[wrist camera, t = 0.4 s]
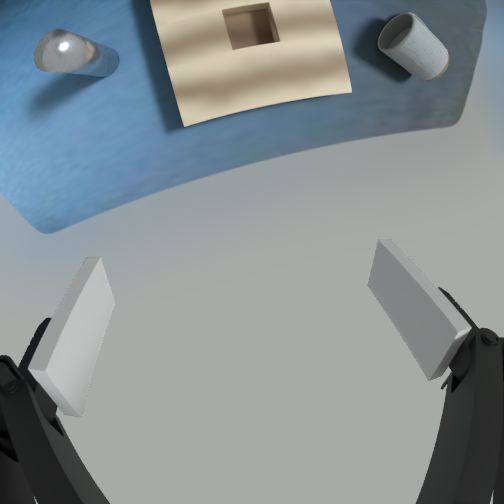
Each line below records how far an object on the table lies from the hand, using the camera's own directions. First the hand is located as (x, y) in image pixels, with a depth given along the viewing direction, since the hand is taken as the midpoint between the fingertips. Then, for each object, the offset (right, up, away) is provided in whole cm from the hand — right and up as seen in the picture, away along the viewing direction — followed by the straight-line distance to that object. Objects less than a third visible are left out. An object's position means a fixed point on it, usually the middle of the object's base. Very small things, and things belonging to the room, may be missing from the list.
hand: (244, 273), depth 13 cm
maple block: (0, +28, +15) cm, 31 cm away
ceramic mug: (+22, +31, +16) cm, 41 cm away
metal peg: (-18, +25, +14) cm, 34 cm away
